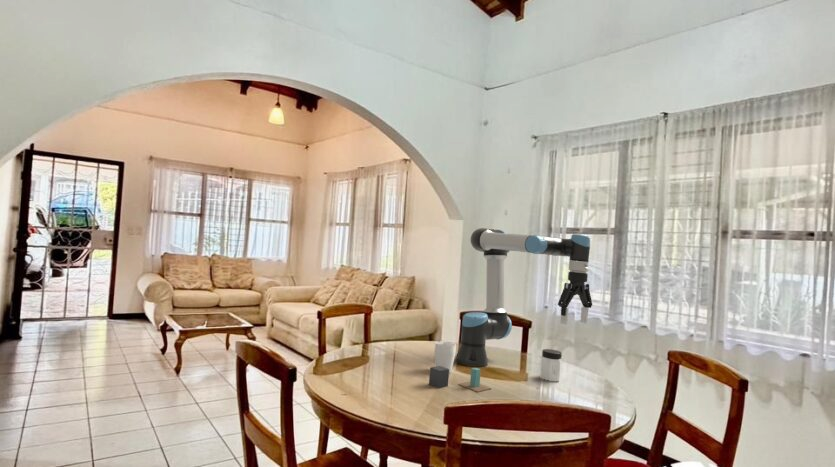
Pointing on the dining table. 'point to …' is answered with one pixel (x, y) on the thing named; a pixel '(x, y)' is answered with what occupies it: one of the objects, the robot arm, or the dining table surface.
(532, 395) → the dining table surface
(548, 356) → the jar
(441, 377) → the charcoal cuboid
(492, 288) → the robot arm
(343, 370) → the dining table surface
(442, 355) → the cup
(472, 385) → the teal post on base
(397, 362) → the dining table surface
